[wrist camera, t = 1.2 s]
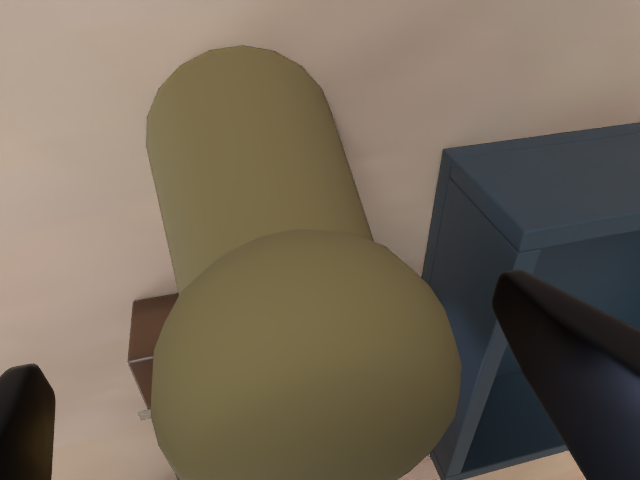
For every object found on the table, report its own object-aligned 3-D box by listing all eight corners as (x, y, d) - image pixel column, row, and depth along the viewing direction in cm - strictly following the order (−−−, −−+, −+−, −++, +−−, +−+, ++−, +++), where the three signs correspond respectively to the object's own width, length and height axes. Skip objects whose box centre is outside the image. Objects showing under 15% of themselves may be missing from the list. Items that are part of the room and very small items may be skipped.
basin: (631, 339, 30) (703, 413, 26) (402, 393, 27) (442, 485, 23) (776, 103, 20) (928, 161, 16) (442, 148, 17) (525, 232, 13)
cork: (310, 18, 13) (543, 258, 5) (348, 187, 17) (516, 482, 9) (106, 83, 13) (-8, 454, 5) (192, 240, 17) (213, 597, 9)
